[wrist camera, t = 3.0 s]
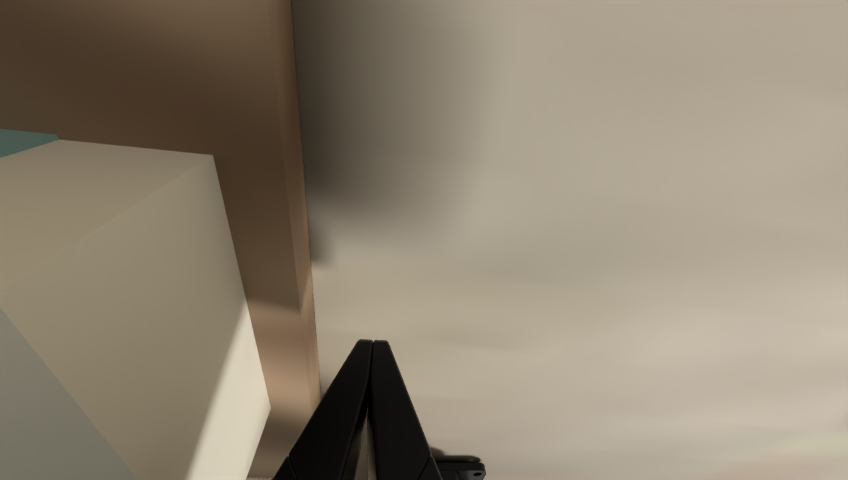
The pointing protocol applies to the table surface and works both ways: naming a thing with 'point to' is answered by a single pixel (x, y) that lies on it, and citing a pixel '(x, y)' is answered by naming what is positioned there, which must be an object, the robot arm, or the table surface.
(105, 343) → the carton
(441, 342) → the table surface
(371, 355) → the robot arm
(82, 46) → the podium
